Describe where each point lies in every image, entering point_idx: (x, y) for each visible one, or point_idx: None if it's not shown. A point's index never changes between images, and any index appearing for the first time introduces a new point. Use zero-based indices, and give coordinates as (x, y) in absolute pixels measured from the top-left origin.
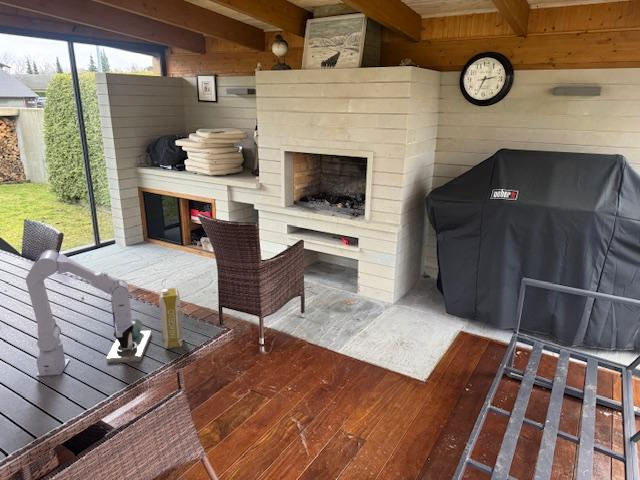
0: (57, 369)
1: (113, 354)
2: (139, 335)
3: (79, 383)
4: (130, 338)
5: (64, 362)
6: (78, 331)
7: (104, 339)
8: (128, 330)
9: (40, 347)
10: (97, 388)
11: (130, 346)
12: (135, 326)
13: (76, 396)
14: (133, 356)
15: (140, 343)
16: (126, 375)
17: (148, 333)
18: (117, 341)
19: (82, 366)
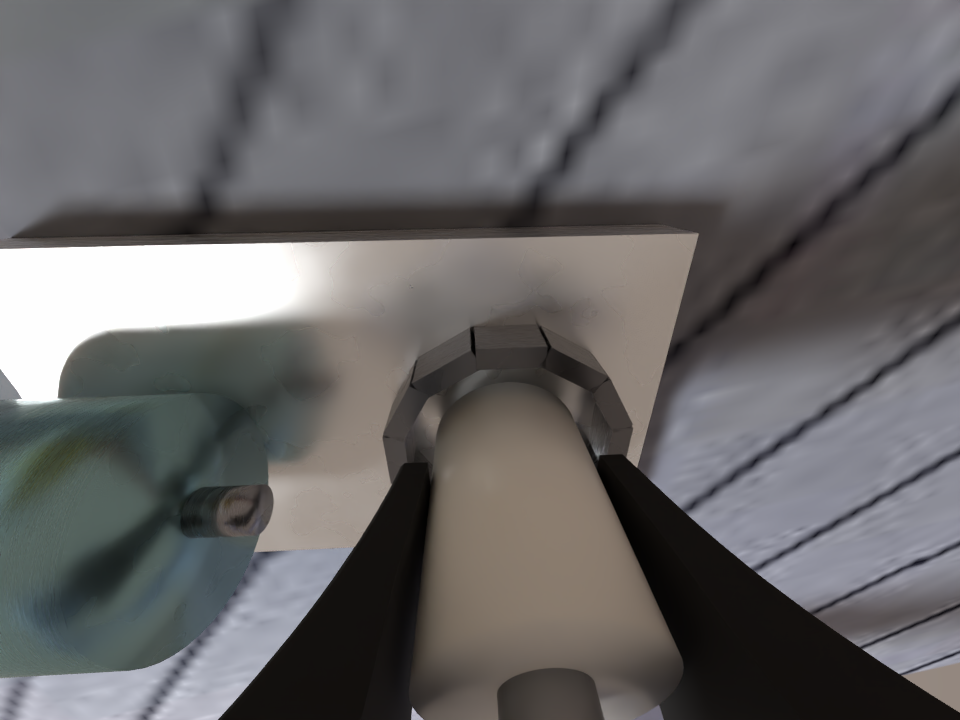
0: None
1: None
2: (141, 379)
3: (801, 556)
4: (591, 533)
5: None
6: (209, 698)
7: (266, 588)
8: (386, 711)
9: None
10: (935, 460)
11: (564, 422)
12: (31, 572)
13: (941, 532)
14: (667, 322)
15: (347, 316)
16: (885, 305)
17: (26, 270)
18: (332, 536)
19: None
